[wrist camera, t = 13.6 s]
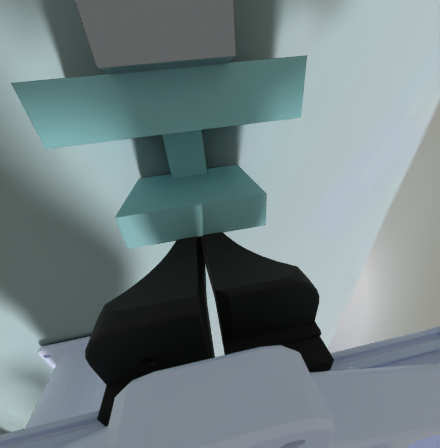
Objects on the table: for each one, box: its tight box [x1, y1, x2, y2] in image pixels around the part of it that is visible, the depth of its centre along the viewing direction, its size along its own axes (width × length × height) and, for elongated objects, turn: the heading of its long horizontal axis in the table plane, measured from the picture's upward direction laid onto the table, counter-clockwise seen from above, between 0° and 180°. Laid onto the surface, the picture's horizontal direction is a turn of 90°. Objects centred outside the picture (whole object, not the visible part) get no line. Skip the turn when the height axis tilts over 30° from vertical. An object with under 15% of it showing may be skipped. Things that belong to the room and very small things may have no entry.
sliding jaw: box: [11, 55, 307, 249], centre depth 9 cm, size 6×10×5 cm, turn 95°
